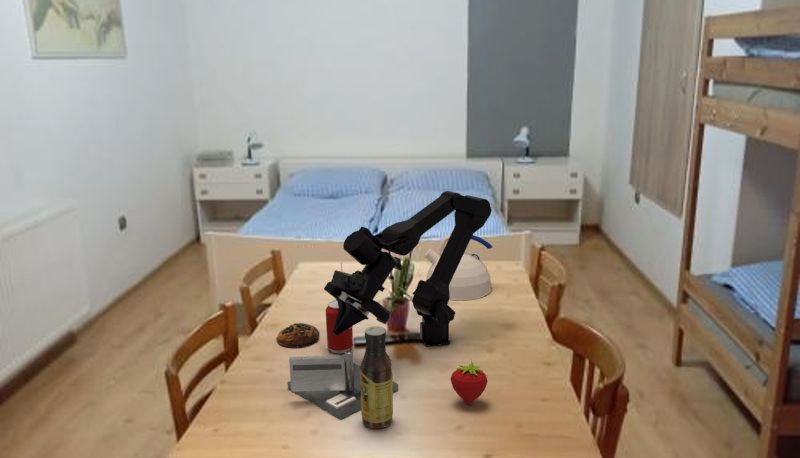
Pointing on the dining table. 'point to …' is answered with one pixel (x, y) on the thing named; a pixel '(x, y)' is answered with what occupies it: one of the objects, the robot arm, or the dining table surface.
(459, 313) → the dining table surface
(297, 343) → the bread roll
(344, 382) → the grey slotted panel
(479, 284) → the kettle
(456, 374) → the strawberry
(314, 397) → the metal base plate
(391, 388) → the sauce bottle
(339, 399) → the strip
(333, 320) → the beverage can
